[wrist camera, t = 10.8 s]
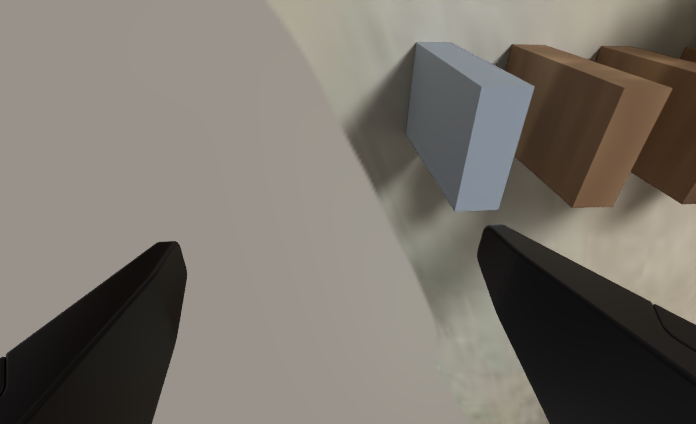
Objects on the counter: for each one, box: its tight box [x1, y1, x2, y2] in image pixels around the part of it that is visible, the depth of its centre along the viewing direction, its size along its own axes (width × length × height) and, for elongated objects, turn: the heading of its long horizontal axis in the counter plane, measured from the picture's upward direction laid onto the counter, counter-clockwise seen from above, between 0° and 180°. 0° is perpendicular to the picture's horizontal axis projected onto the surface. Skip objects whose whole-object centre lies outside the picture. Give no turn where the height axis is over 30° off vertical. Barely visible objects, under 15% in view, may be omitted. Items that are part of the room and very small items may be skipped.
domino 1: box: [406, 42, 535, 212], centre depth 17 cm, size 2×5×8 cm, turn 179°
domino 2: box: [505, 44, 673, 208], centre depth 17 cm, size 2×5×8 cm, turn 178°
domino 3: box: [595, 46, 696, 204], centre depth 18 cm, size 2×5×8 cm, turn 178°
